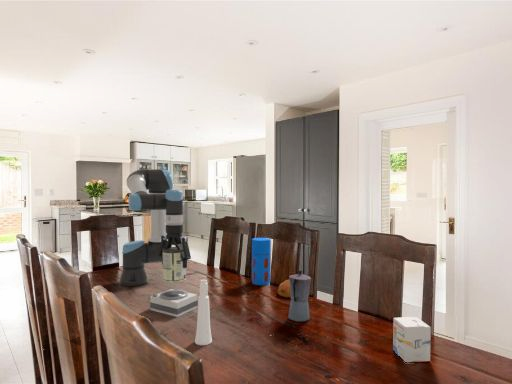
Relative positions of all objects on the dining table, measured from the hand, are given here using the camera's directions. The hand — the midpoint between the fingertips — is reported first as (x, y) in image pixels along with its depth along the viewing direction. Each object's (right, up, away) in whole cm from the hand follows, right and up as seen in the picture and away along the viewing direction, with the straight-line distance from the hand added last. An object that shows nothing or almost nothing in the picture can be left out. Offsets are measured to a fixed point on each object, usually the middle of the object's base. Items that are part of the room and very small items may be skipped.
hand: (174, 273), depth 155 cm
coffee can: (0, -3, 0) cm, 3 cm away
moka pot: (+55, -17, -11) cm, 58 cm away
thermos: (+40, -16, +43) cm, 61 cm away
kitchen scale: (0, -16, 0) cm, 16 cm away
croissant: (+55, -16, +23) cm, 62 cm away
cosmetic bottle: (+18, -17, -32) cm, 40 cm away
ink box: (+87, -17, -42) cm, 99 cm away
